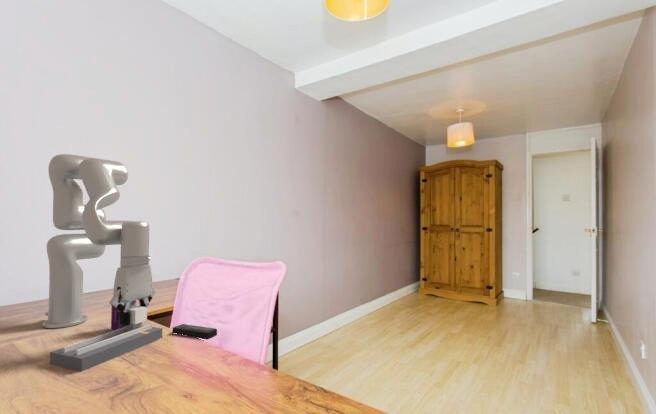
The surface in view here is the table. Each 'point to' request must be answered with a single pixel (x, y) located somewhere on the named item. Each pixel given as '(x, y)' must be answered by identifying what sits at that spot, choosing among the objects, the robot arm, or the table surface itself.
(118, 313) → the beverage can
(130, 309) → the fader knob
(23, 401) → the table surface
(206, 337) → the multiport hub
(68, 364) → the fader console
